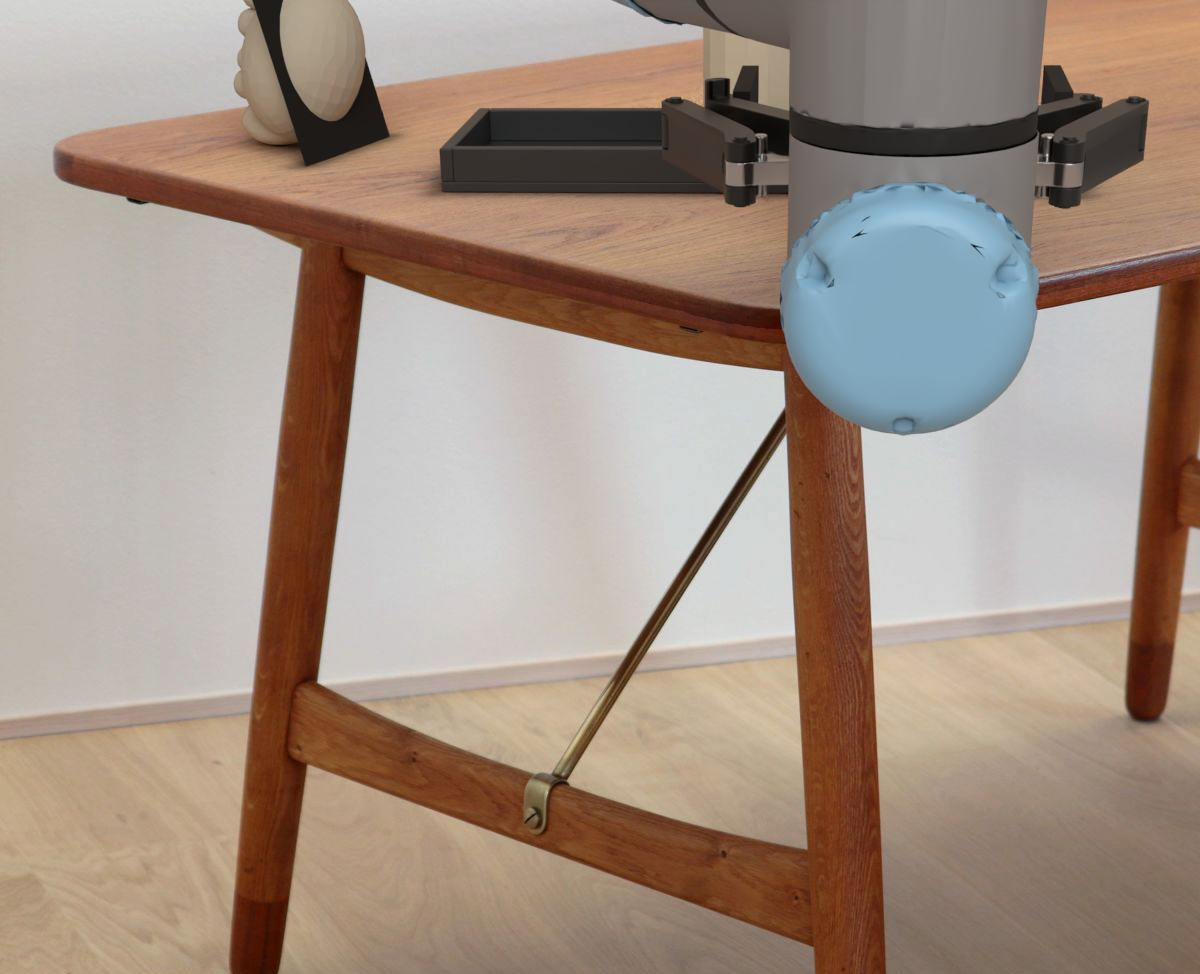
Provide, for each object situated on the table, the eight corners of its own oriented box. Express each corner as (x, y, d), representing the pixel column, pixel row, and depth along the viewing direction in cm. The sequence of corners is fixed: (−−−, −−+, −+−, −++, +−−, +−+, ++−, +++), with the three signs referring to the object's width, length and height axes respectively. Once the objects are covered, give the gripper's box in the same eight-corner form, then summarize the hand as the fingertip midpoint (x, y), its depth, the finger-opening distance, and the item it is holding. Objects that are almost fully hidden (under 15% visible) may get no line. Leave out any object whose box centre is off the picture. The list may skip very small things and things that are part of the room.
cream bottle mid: (836, 169, 119) (844, -114, 112) (755, 187, 115) (757, -105, 108) (762, 152, 124) (764, -120, 117) (681, 169, 120) (679, -111, 113)
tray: (1060, 148, 123) (1063, 106, 122) (1077, 194, 111) (1081, 149, 110) (481, 147, 128) (479, 107, 127) (441, 191, 116) (438, 148, 115)
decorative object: (219, 189, 128) (306, 159, 136) (340, 157, 122) (423, 127, 130) (154, -5, 124) (247, -24, 132) (275, -47, 119) (364, -65, 127)
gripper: (564, 301, 73) (630, 175, 92) (1249, 311, 69) (1169, 178, 88) (557, 98, 69) (627, 12, 88) (1275, 99, 66) (1187, 9, 85)
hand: (898, 95), depth 88 cm, fingers open, 13 cm apart
